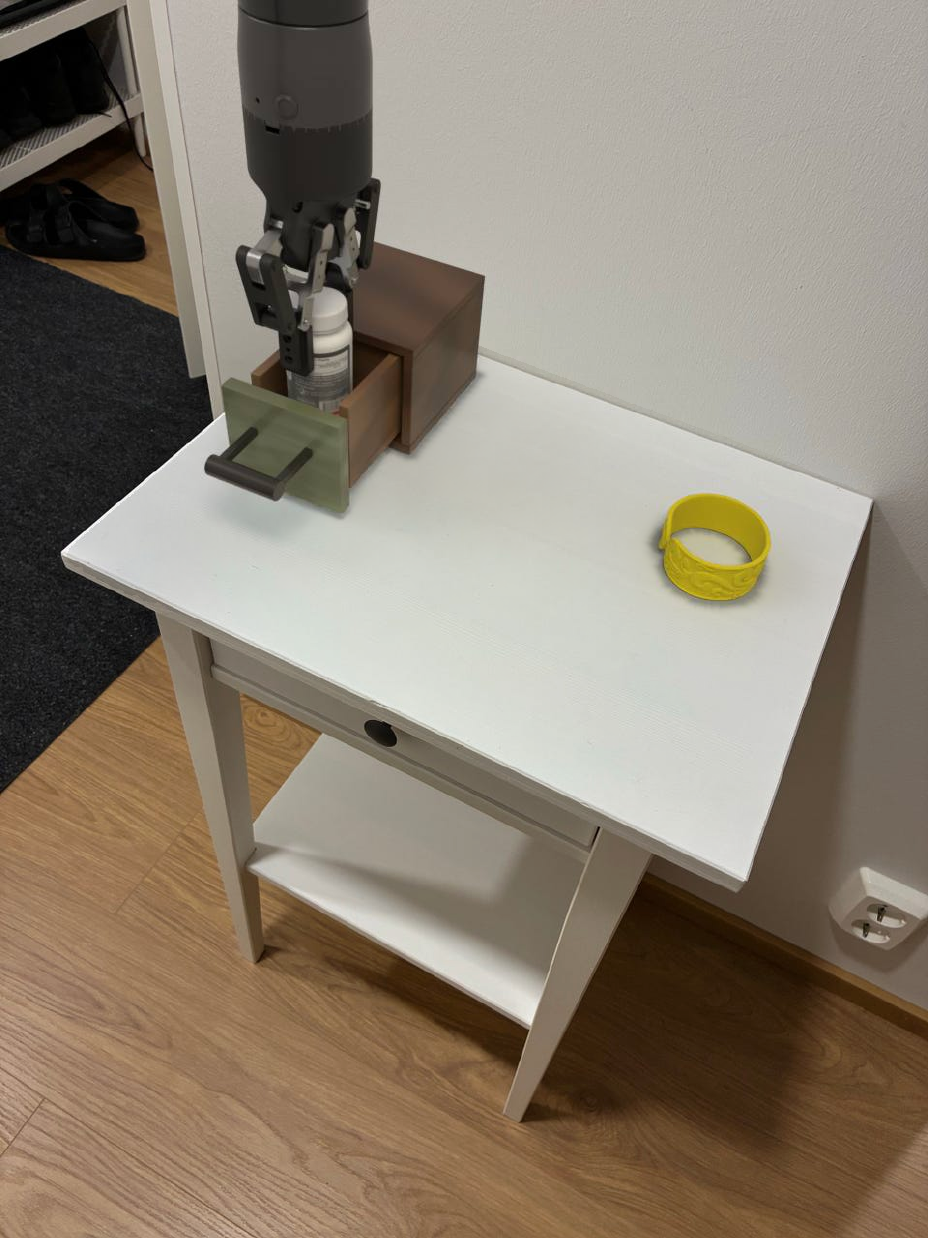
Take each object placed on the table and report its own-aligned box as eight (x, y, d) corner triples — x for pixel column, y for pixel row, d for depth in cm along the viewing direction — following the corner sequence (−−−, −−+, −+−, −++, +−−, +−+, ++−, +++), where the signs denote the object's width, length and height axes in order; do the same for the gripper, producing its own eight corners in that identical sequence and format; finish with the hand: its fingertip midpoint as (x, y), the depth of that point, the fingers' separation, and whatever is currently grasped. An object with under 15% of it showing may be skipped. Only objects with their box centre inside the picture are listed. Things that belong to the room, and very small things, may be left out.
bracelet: (741, 524, 74) (754, 492, 72) (771, 601, 69) (786, 568, 67) (649, 524, 74) (659, 491, 71) (672, 601, 68) (684, 569, 66)
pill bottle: (299, 379, 73) (292, 276, 67) (359, 389, 73) (359, 287, 67) (280, 416, 70) (272, 312, 64) (344, 427, 70) (342, 323, 63)
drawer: (302, 559, 67) (295, 472, 61) (189, 513, 69) (173, 425, 64) (413, 431, 78) (417, 346, 72) (313, 394, 80) (308, 309, 74)
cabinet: (409, 455, 77) (413, 350, 70) (295, 413, 80) (288, 308, 72) (476, 376, 85) (485, 275, 78) (370, 340, 87) (370, 239, 80)
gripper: (316, 45, 61) (325, 292, 74) (176, 119, 52) (214, 386, 65) (422, 72, 59) (412, 321, 72) (296, 154, 50) (310, 422, 63)
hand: (318, 351), depth 68 cm, fingers closed on pill bottle, 4 cm apart
